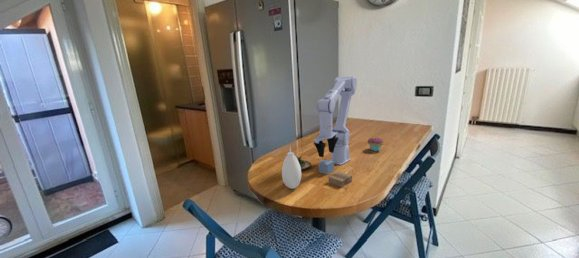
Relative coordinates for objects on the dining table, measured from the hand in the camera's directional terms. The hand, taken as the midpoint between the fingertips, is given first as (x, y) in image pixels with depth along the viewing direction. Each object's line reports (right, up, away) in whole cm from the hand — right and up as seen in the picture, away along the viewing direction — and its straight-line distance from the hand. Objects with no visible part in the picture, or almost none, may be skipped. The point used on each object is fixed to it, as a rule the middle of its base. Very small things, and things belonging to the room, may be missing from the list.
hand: (326, 154), depth 116 cm
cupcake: (+32, 0, +28) cm, 43 cm away
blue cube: (0, -8, +2) cm, 9 cm away
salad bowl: (-12, -8, +9) cm, 17 cm away
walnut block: (+5, -11, -9) cm, 15 cm away
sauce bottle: (-16, -13, -12) cm, 24 cm away
